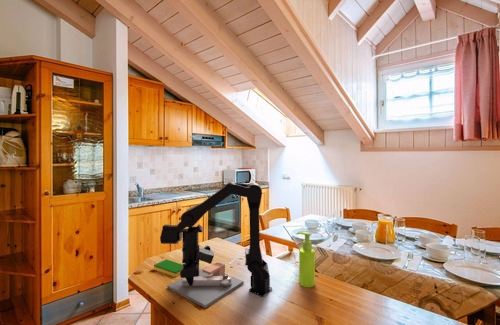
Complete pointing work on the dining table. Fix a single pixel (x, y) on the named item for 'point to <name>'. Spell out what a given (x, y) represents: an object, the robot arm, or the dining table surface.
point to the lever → (210, 281)
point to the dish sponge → (168, 267)
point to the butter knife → (236, 258)
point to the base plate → (204, 290)
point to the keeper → (215, 269)
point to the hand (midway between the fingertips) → (190, 285)
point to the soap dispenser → (306, 262)
